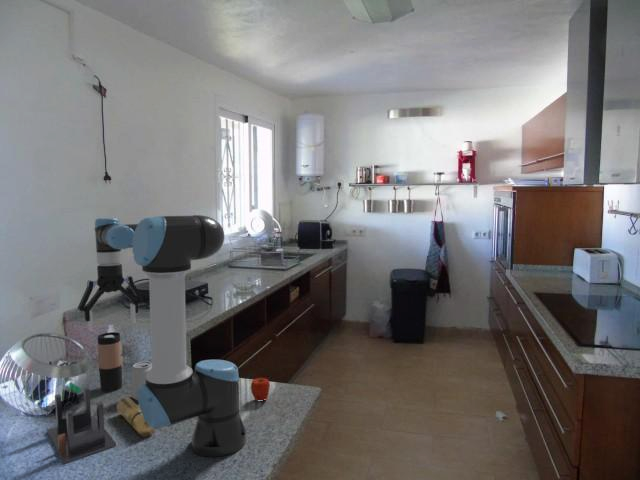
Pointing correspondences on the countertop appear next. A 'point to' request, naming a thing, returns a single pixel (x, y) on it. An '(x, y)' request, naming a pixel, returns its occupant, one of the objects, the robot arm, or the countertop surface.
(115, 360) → the travel mug
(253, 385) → the apple
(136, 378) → the can
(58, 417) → the dark grey pronged rack
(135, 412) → the tube
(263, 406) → the countertop surface
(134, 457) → the countertop surface
